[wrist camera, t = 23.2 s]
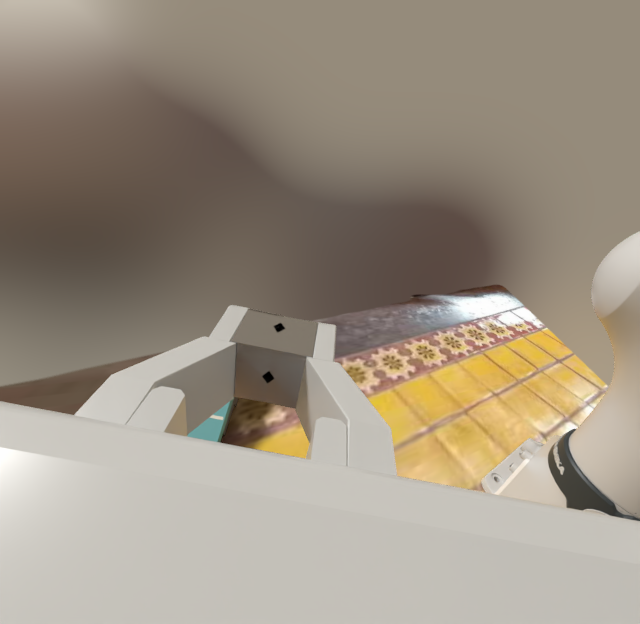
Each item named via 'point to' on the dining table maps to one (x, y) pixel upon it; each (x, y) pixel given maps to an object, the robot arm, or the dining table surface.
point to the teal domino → (213, 425)
